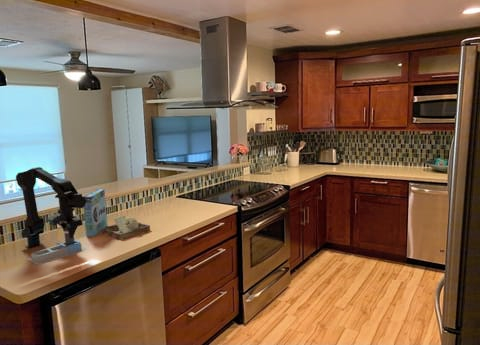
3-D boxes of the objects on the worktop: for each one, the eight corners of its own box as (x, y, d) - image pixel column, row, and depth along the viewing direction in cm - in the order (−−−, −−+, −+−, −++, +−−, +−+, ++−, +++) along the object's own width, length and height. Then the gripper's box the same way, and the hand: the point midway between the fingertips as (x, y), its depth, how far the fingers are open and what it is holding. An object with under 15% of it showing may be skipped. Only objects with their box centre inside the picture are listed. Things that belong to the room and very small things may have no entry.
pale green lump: (140, 238, 203) (143, 216, 213) (133, 232, 198) (136, 209, 208) (117, 245, 207) (121, 223, 217) (109, 239, 202) (113, 217, 211)
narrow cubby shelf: (27, 260, 171) (26, 251, 170) (75, 246, 188) (74, 237, 188) (37, 267, 163) (36, 257, 163) (86, 251, 181) (85, 242, 180)
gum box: (100, 225, 222) (96, 189, 218) (108, 225, 222) (104, 189, 218) (85, 236, 203) (81, 196, 199) (94, 236, 203) (90, 196, 199)
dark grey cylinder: (64, 246, 180) (62, 229, 178) (72, 243, 183) (70, 226, 182) (68, 248, 177) (66, 230, 176) (76, 245, 180) (74, 228, 179)
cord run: (56, 245, 190) (55, 243, 190) (58, 244, 191) (58, 242, 191) (64, 249, 184) (64, 247, 184) (66, 248, 185) (66, 246, 185)
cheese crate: (102, 233, 208) (102, 228, 207) (131, 224, 222) (130, 220, 222) (121, 239, 196) (120, 234, 195) (150, 230, 210) (149, 225, 209)
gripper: (40, 207, 177) (44, 238, 179) (57, 213, 165) (61, 246, 167) (63, 202, 185) (66, 232, 188) (81, 208, 173) (84, 239, 176)
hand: (69, 237), depth 179 cm, fingers closed on dark grey cylinder, 4 cm apart
